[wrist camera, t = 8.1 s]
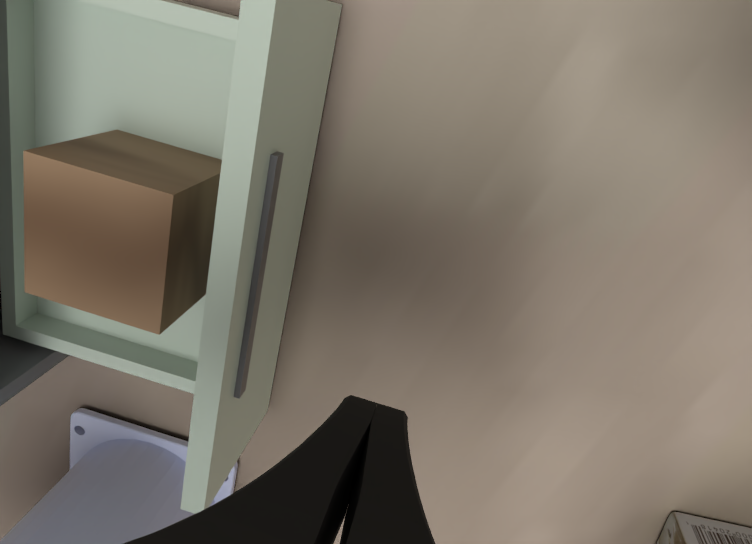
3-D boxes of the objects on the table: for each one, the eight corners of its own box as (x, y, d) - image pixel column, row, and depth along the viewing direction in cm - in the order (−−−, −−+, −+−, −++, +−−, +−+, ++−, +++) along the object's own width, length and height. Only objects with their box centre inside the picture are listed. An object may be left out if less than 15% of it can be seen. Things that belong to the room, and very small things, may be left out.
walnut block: (221, 280, 22) (159, 335, 18) (110, 246, 22) (24, 292, 18) (238, 164, 20) (173, 195, 16) (117, 129, 21) (23, 150, 16)
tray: (272, 412, 24) (208, 518, 19) (33, 337, 25) (-94, 418, 20) (348, 6, 18) (286, -12, 13) (27, -74, 19) (-160, -121, 14)
